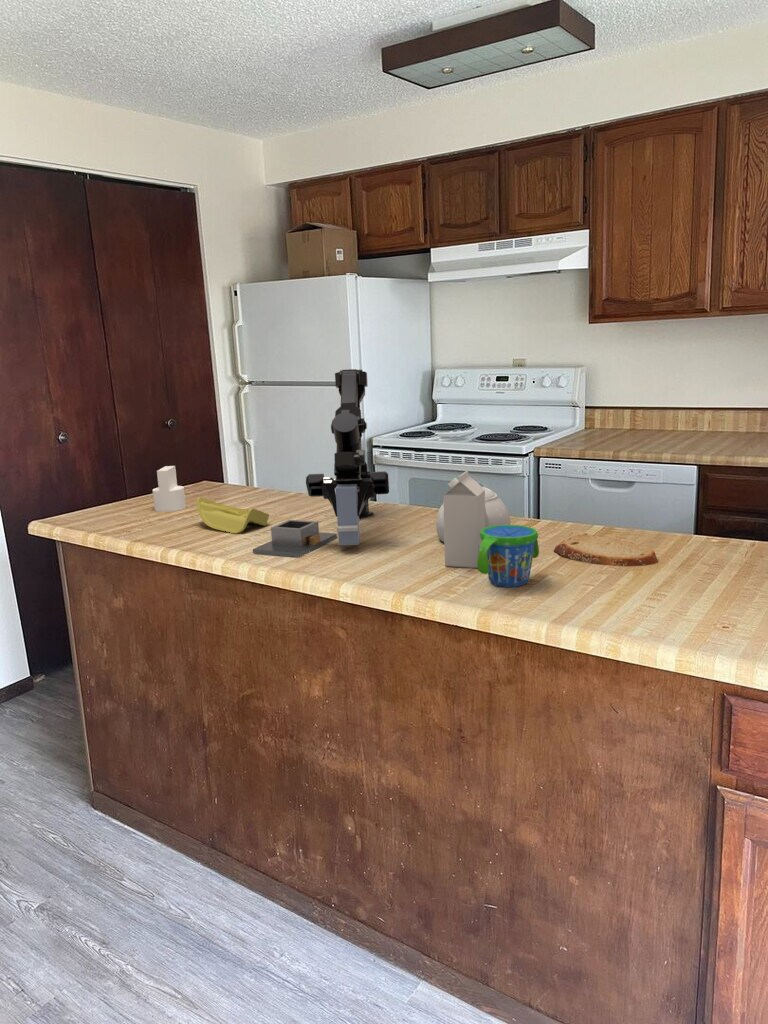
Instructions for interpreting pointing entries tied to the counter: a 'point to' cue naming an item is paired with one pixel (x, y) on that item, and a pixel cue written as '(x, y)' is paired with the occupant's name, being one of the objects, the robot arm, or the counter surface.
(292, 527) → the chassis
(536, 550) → the snack cup
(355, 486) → the grey tall block
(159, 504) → the cylinder with rectangular tab
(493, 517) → the teapot
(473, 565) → the milk carton
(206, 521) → the plastic component
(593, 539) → the slice of bread
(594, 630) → the counter surface
